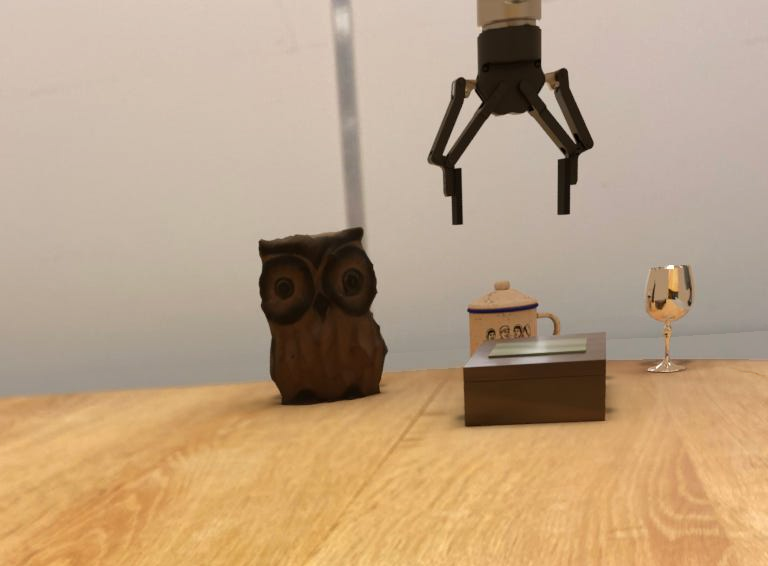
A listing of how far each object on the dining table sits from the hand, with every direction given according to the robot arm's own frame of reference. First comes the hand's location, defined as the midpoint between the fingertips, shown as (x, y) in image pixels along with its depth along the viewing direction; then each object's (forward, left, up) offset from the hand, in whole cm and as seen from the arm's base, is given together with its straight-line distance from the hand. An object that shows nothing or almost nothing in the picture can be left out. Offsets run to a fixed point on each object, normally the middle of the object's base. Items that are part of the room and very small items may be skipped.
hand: (510, 220), depth 134 cm
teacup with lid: (0, 0, -19) cm, 19 cm away
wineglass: (-16, +11, -19) cm, 27 cm away
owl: (+25, +2, -19) cm, 31 cm away
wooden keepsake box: (+4, +24, -19) cm, 31 cm away
